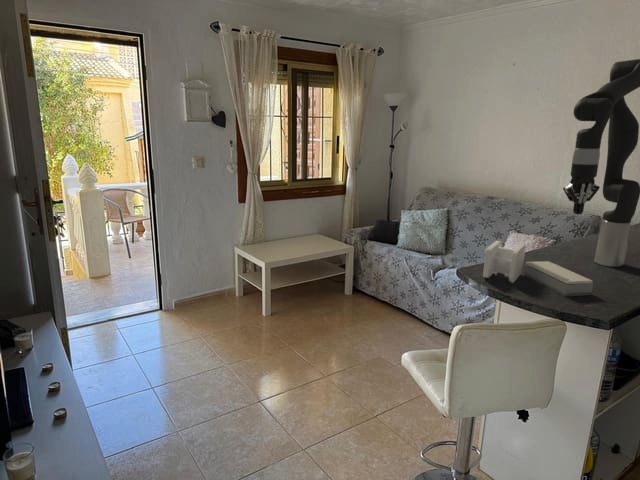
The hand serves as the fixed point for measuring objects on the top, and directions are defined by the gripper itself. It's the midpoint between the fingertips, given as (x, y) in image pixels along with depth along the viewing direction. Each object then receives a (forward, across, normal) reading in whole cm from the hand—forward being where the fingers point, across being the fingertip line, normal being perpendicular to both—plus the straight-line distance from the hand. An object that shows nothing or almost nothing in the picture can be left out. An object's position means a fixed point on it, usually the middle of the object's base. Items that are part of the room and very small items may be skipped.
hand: (577, 213), depth 152 cm
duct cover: (+19, +8, +3) cm, 21 cm away
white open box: (+23, +8, +4) cm, 25 cm away
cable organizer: (+23, +22, -7) cm, 33 cm away
